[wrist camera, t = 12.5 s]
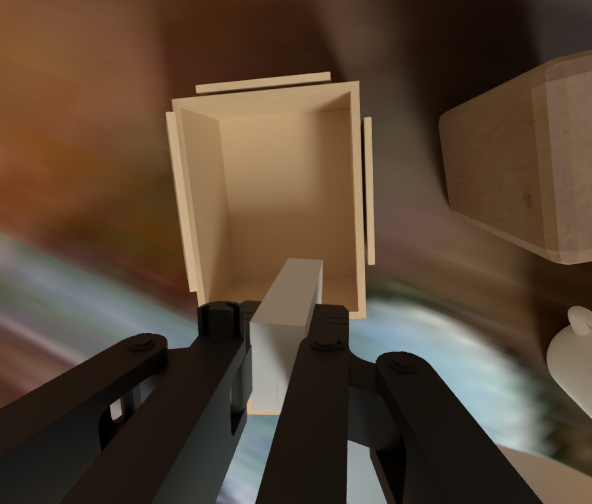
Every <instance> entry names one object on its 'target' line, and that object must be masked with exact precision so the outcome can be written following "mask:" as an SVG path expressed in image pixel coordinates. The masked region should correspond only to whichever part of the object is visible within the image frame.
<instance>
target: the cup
mask: <svg viewBox="0 0 592 504" xmlns="http://www.w3.org/2000/svg"><path fill="white" fill-rule="evenodd" d="M568 319H569V322H570V325H568V326H567V327H565V328H563V329H562V330H561V331H560V332H558V333H557V334H556V336H555V337H554V338H553V339H552V341H551V343H550V345H549V347H548V351H547V366H548V369H549V372H550V374H551V375H552V377H553V378H554V380H555V381H556V382H557V383H558V384H559V385H560V387H561V388H562V389H563V390H564V391H565V392H566V393H567V394H568V395H569V396H570V397H571V398H572V399H573V400H574V401H575V402H576V403H577V404H578V405H579V406H580V407H581V408H582V409H583V410H584V411H585V412H586V413H587V414H588V415H589V416H590V417H591V418H592V312H591V311H590V310H588V309H586V308H584V307H581V306H573V307H571V308H570V309H569V310H568Z"/></svg>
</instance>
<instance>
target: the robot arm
mask: <svg viewBox="0 0 592 504" xmlns="http://www.w3.org/2000/svg"><path fill="white" fill-rule="evenodd" d="M322 274H323V260H317V259H297V258H288V260H287V261H286V263H285V265H284V266H283V268H282V270H281V271H280V273H279V274H278V276H277V278H276V279H275V281H274V283H273V284H272V286H271V288H270V289H269V291H268V293H267V294H266V296H265V298H264V299H263V301H251V300H246V301H244V302H242V303H240V304H239V303H237V302H232V301H215V302H209V303H206V304H203V305H201V306H200V307H198V308H197V315H198V332H199V336H198V337H197V338H196V340H195V341H194V342H193V343H192V344H191V346H190V347H187V348H178V349H168V342H167V339H166V338H165V337H164V336H162V335H159V334H152V333H146V334H145V333H141V334H138V335H135V336H131V337H129V338H126V339H124V340H122V341H120V342H118V343H117V344H115V345H113V346H111V347H109V348H108V349H106V350H104V351H102V352H101V353H99V354H97V355H95V356H93V357H92V358H90V359H88V360H86V361H85V362H83V363H81V364H79V365H77V366H76V367H74V368H72V369H70V370H69V371H67V372H65V373H63V374H61V375H60V376H58V377H56V378H54V379H53V380H51V381H49V382H47V383H45V384H44V385H42V386H40V387H38V388H37V389H35V390H33V391H31V392H29V393H28V394H26V395H24V396H22V397H21V398H19V399H17V400H15V401H13V402H12V403H10V404H8V405H6V406H4V407H3V408H1V409H0V504H215V501H216V499H217V496H218V494H219V491H220V489H221V486H222V483H223V481H224V478H225V476H226V473H227V471H228V468H229V465H230V463H231V460H232V458H233V455H234V453H235V450H236V447H237V445H238V442H239V440H240V437H241V434H242V432H243V429H244V427H245V424H246V422H247V402H248V400H249V398H250V395H251V410H259V411H269V412H279V413H280V416H279V420H278V424H277V427H276V431H275V434H274V438H273V441H272V445H271V449H270V452H269V456H268V459H267V463H266V467H265V470H264V474H263V477H262V481H261V484H260V488H259V492H258V495H257V499H256V502H255V504H346V497H347V496H346V495H347V441H348V440H350V441H353V442H356V443H358V444H361V445H364V446H366V447H369V448H370V458H371V461H372V463H373V466H374V469H375V471H376V474H377V476H378V479H379V482H380V485H381V488H382V490H383V493H384V496H385V498H386V501H387V504H543V503H542V501H540V499H539V498H538V497H537V495H536V494H535V493H534V492H533V490H532V489H531V488H530V487H529V485H528V484H527V483H526V482H525V481H524V479H523V478H522V477H521V476H520V474H519V473H518V472H517V471H516V470H515V468H514V467H513V466H512V465H511V463H510V462H509V461H508V460H507V458H506V457H505V456H504V455H503V454H502V452H501V451H500V450H499V449H498V447H497V446H496V445H495V444H494V442H493V441H492V440H491V439H490V438H489V436H488V435H487V434H486V433H485V431H484V430H483V429H482V428H481V427H480V425H479V424H478V423H477V422H476V420H475V419H474V418H473V417H472V415H471V414H470V413H469V412H468V411H467V409H466V408H465V407H464V406H463V404H462V403H461V402H460V401H459V399H458V398H457V397H456V396H455V395H454V393H453V392H452V391H451V390H450V388H449V387H448V386H447V385H446V383H445V382H444V381H443V380H442V379H441V377H440V376H439V375H438V374H437V372H436V371H435V370H434V369H433V368H432V366H431V365H430V364H429V363H428V362H427V361H425V360H424V359H423V358H421V357H419V356H416V355H414V354H412V353H407V352H403V351H401V352H388V353H384V354H382V355H380V356H379V357H378V358H377V360H376V364H375V363H372V362H368V361H365V360H362V359H360V358H358V357H357V356H355V355H354V354H353V353H352V352H351V351H350V349H349V311H348V310H347V309H346V308H345V307H344V306H343V305H330V304H322ZM119 398H120V401H121V410H122V415H121V416H120V417H118V418H117V419H115V420H112V418H111V411H110V405H111V404H112V403H114V402H115V401H116V400H118V399H119Z"/></svg>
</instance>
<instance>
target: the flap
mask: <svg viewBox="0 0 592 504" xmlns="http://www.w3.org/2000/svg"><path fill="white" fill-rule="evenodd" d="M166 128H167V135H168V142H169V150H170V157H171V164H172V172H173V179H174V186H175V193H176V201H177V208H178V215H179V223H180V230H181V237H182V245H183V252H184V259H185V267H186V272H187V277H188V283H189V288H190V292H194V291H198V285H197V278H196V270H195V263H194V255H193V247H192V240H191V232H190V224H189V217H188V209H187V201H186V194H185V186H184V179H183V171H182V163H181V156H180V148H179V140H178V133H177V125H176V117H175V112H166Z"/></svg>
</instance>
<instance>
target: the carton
mask: <svg viewBox="0 0 592 504" xmlns="http://www.w3.org/2000/svg"><path fill="white" fill-rule="evenodd" d="M196 93H198V94H200V95H203V96H200V97H190V98H179V99H172V106H173V112H175V117H176V125H177V133H178V140H179V148H180V156H181V163H182V171H183V179H184V186H185V194H186V201H187V209H188V217H189V224H190V232H191V240H192V247H193V255H194V263H195V270H196V278H197V285H198V291H197V296H198V304H199V307H200V306H201V305H203V304H206V303H209V302H215V301H232V302H237V303H239V304H240V303H242V302H244V301H246V300H251V301H263V299H264V298H265V296H266V294H267V293H268V291H269V289H270V288H271V286H272V284H273V283H274V281H275V279H276V278H277V276H278V274H279V273H280V271H281V270H282V268H283V266H284V265H285V263H286V261H287V260H288V258H297V259H317V260H323V274H322V304H330V305H343V306H344V307H345V308H346V309H347V310H348V311H349V319H366V297H365V264H364V250H365V253H366V257H367V261H368V265H375V249H374V208H373V167H372V126H371V117H366V118H364V119H363V121H362V123H361V125H360V101H359V81H353V82H343V83H333V84H332V82H331V75H330V72H322V73H312V74H302V75H292V76H283V77H273V78H263V79H253V80H243V81H234V82H224V83H214V84H204V85H196Z"/></svg>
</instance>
